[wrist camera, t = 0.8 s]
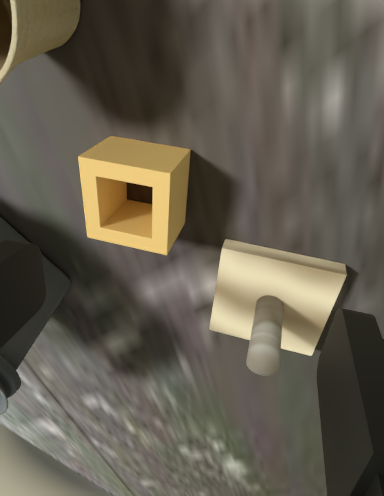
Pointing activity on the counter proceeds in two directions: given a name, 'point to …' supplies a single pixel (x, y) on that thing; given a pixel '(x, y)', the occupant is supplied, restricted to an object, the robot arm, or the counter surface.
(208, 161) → the counter surface
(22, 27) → the flower pot
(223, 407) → the counter surface
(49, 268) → the storage bin
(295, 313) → the post stand
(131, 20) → the counter surface
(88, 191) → the ring
